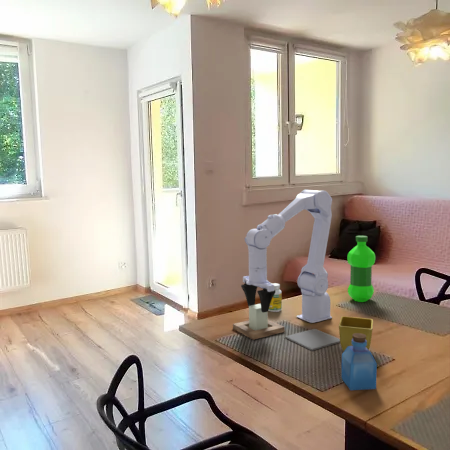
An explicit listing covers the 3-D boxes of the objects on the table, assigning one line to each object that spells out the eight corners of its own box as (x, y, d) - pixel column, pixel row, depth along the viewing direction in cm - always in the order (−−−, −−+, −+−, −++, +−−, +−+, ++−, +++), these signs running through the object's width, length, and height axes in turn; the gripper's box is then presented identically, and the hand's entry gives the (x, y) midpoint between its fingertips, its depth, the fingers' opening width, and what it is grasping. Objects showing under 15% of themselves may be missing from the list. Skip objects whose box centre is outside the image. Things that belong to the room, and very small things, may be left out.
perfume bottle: (341, 378, 113) (342, 331, 111) (365, 376, 113) (366, 330, 112) (350, 390, 107) (351, 341, 105) (376, 388, 107) (377, 339, 106)
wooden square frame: (263, 321, 155) (263, 317, 155) (284, 331, 145) (284, 326, 145) (232, 328, 149) (232, 323, 149) (253, 339, 139) (253, 334, 139)
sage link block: (260, 327, 150) (260, 303, 149) (267, 330, 147) (267, 306, 146) (249, 329, 148) (248, 305, 147) (256, 333, 144) (256, 309, 143)
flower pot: (372, 349, 130) (373, 318, 129) (371, 361, 122) (372, 328, 121) (341, 345, 133) (341, 315, 132) (338, 357, 125) (338, 325, 124)
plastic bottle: (344, 296, 183) (345, 234, 180) (371, 296, 182) (372, 234, 179) (348, 303, 173) (349, 238, 170) (377, 304, 172) (378, 238, 169)
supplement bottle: (275, 306, 171) (275, 281, 170) (284, 310, 167) (284, 284, 166) (264, 309, 168) (263, 284, 167) (273, 313, 164) (273, 287, 163)
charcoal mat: (314, 330, 146) (314, 328, 146) (342, 341, 136) (342, 340, 136) (285, 337, 140) (285, 336, 140) (311, 350, 130) (311, 349, 130)
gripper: (234, 264, 149) (235, 305, 150) (260, 272, 136) (261, 316, 138) (252, 262, 152) (253, 301, 154) (279, 269, 140) (279, 312, 142)
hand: (258, 308), depth 146 cm, fingers open, 7 cm apart
